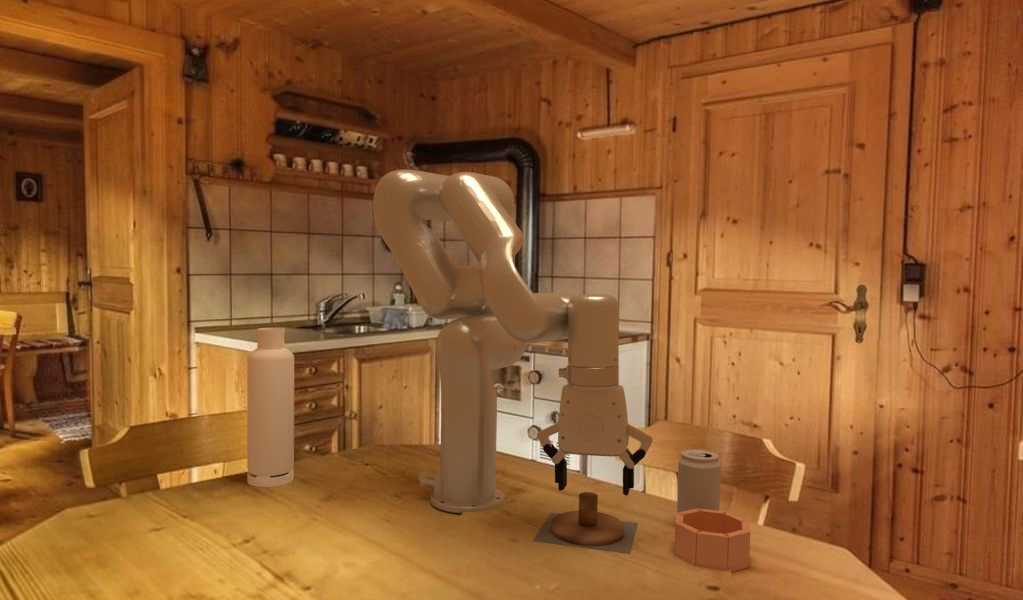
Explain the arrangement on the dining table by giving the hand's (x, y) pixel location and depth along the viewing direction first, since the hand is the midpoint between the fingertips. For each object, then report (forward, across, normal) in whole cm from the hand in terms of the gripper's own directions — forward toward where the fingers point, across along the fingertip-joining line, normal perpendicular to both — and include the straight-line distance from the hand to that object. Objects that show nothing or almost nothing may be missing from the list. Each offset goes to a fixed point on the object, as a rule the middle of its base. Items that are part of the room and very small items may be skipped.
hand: (594, 490), depth 104 cm
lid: (+6, -1, 0) cm, 7 cm away
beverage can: (+8, +15, +8) cm, 19 cm away
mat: (+7, -1, 0) cm, 7 cm away
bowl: (+8, +17, -2) cm, 19 cm away
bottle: (+5, -61, +7) cm, 62 cm away
